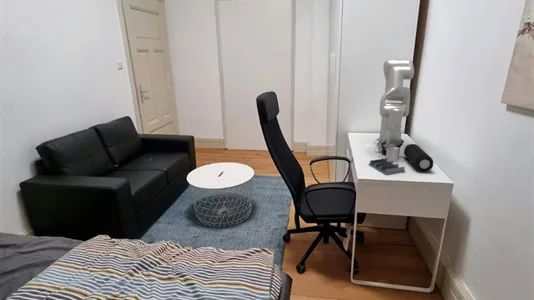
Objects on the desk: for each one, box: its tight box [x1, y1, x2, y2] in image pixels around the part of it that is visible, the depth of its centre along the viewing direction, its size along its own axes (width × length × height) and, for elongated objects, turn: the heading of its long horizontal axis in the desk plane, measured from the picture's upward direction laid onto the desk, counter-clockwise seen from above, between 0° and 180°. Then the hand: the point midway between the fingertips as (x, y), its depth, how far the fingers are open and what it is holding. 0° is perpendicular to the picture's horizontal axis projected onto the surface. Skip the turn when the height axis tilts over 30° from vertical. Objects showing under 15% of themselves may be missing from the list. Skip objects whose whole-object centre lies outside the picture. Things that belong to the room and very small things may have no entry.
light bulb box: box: [377, 136, 397, 154], centre depth 195 cm, size 11×7×11 cm, turn 40°
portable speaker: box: [403, 143, 434, 173], centre depth 176 cm, size 26×10×10 cm, turn 172°
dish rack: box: [368, 158, 406, 176], centre depth 171 cm, size 16×13×3 cm
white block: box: [382, 146, 400, 163], centre depth 185 cm, size 10×3×9 cm, turn 17°
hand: (390, 154), depth 185 cm, fingers open, 9 cm apart
